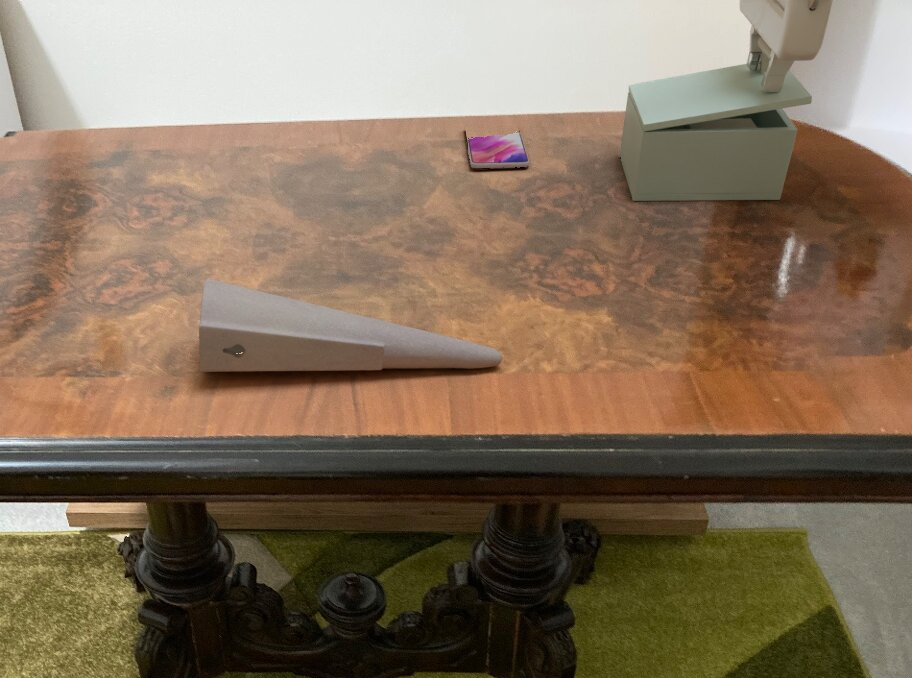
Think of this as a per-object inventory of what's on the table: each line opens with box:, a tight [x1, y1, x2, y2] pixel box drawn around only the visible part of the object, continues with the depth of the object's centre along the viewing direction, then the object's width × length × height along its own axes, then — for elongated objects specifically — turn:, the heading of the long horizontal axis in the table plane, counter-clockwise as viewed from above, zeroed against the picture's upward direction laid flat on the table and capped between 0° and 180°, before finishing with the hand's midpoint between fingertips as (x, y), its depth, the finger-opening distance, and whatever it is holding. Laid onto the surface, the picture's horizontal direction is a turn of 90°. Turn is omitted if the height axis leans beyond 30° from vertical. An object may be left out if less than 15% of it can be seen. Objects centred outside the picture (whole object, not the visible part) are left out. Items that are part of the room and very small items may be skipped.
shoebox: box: [619, 92, 799, 202], centre depth 105 cm, size 16×14×8 cm
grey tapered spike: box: [198, 278, 503, 373], centre depth 81 cm, size 8×9×26 cm
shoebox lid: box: [628, 37, 813, 131], centre depth 101 cm, size 16×14×5 cm
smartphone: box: [467, 131, 530, 169], centre depth 119 cm, size 7×1×15 cm
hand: (762, 79), depth 100 cm, fingers closed on shoebox lid, 6 cm apart
